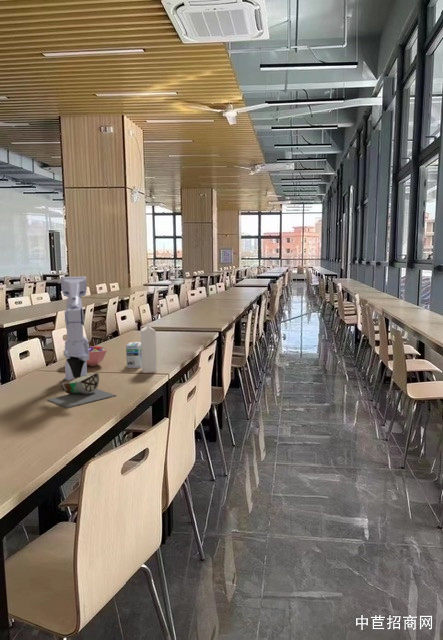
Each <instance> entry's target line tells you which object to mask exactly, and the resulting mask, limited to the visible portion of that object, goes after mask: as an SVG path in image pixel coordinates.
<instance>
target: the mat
mask: <svg viewBox="0 0 443 640" xmlns="http://www.w3.org/2000/svg"><path fill="white" fill-rule="evenodd" d="M114 397H117V395H116V394H114V393H112V392H111V393H110V392H108V391H105V390H102V389H99V388H97V389H96V390H95V391H94V392H92V393H90V394H83V393H70V394H68V393H67V394H66V395H65V394H64V395H61V396H56V397H51V398H47V399H46V400H47V401H48V402H49V403H50V402H51V403H54V405H55V404H56V405H59V406H61V407H64V408H65V409H69V408H73V407H77V406H81V405H85V404H90V403H94V402H98V401H101V400H105V399H110V398H114Z"/></svg>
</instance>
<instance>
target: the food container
mask: <svg viewBox="0 0 443 640" xmlns="http://www.w3.org/2000/svg"><path fill="white" fill-rule="evenodd" d="M99 381H100V375H99V372H94V373H90V374H87V375H84V376H80V377H78V378H73V379H71V380H66V381H65V382H63V383H61V384H60V387H61V389H62V391H64V393H66V394H67V395H68V394H73V393H83V394H90V393H92V392H94V391H95V390H96V389H98V387H99V383H100V382H99Z"/></svg>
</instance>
